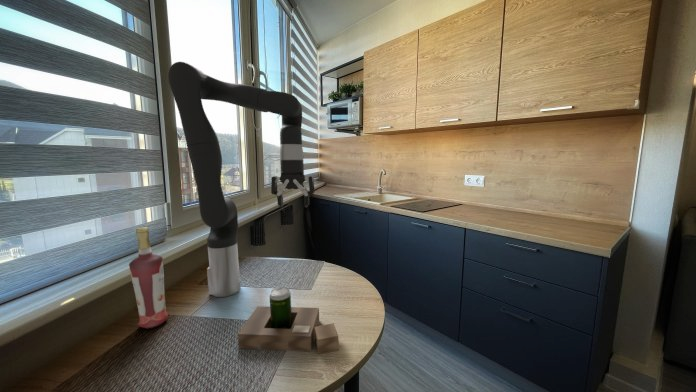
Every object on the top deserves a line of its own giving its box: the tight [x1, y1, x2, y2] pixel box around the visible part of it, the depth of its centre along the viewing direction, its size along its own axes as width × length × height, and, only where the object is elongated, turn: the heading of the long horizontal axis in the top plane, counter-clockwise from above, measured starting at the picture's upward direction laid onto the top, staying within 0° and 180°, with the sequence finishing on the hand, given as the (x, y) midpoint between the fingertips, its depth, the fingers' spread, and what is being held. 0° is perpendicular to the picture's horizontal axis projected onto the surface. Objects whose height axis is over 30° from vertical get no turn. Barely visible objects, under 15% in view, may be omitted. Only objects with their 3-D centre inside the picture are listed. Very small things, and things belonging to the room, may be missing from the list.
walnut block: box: [314, 323, 339, 355], centre depth 64 cm, size 5×5×4 cm
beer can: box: [269, 286, 292, 329], centre depth 68 cm, size 5×5×12 cm
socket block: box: [237, 305, 320, 352], centre depth 69 cm, size 18×12×4 cm, turn 87°
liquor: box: [128, 226, 169, 330], centre depth 72 cm, size 7×7×28 cm
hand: (293, 206), depth 88 cm, fingers open, 8 cm apart
